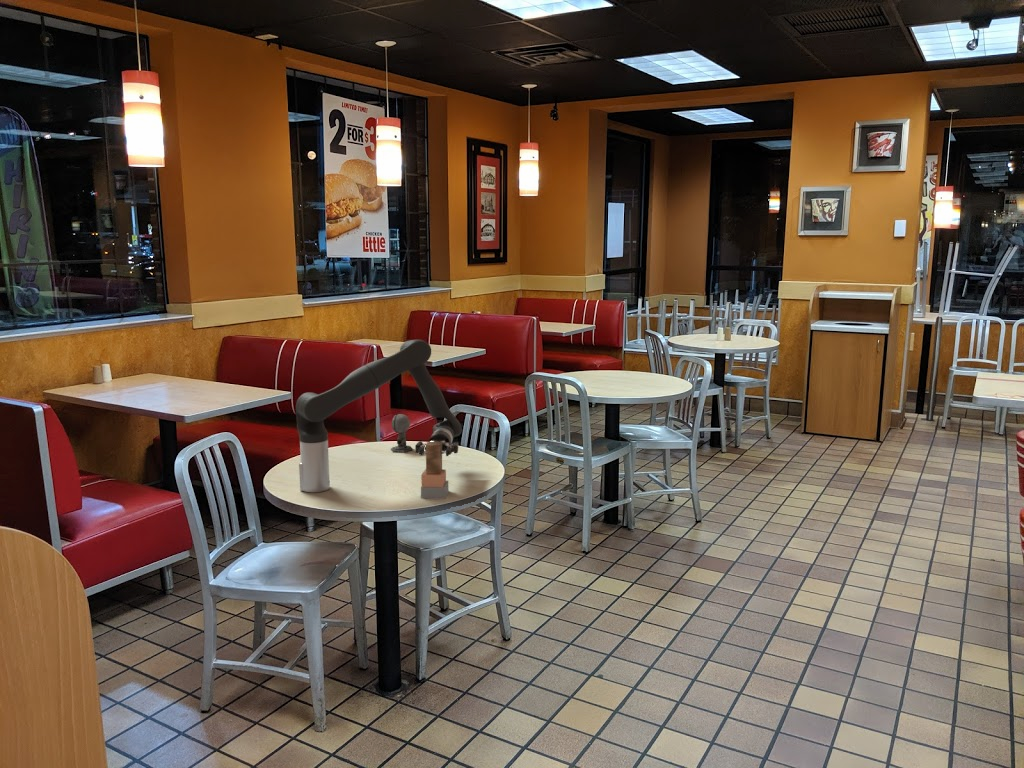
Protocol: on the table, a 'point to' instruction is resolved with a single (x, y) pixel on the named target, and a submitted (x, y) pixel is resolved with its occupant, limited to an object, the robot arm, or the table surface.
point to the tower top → (433, 479)
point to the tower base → (435, 492)
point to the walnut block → (433, 457)
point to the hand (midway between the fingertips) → (434, 453)
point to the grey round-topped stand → (401, 433)
